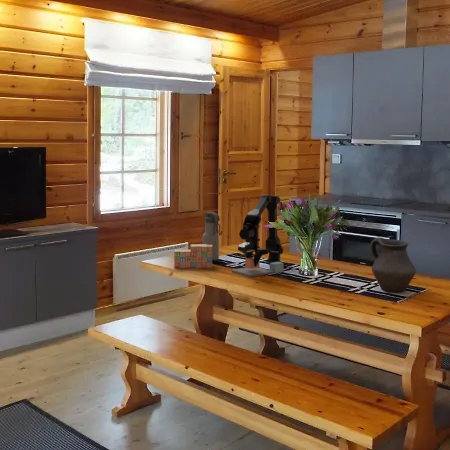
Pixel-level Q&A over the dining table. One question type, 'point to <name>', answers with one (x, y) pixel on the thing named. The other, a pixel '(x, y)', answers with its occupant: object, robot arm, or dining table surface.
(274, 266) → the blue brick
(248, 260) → the terracotta brick
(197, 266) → the stack of blocks
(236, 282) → the dining table surface
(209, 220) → the water bottle
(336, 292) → the dining table surface
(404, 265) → the pitcher
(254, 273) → the base plate
